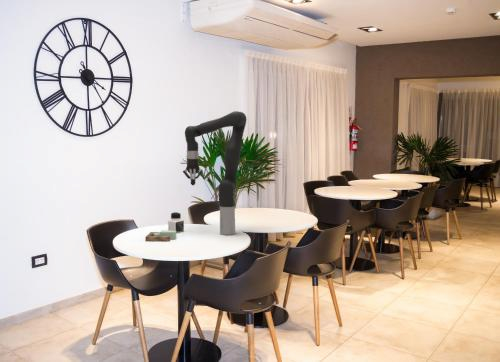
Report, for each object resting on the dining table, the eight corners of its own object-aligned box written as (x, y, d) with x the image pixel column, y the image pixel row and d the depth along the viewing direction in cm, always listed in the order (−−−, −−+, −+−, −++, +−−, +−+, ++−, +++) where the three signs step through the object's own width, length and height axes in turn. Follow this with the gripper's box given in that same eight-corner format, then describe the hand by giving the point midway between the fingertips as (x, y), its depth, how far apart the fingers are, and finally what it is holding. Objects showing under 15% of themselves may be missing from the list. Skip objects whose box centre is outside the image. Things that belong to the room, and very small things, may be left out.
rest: (173, 236, 285) (173, 232, 285) (169, 241, 272) (169, 237, 272) (150, 236, 286) (150, 232, 285) (145, 241, 273) (145, 237, 272)
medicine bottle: (175, 233, 294) (175, 214, 292) (168, 231, 298) (167, 212, 297) (184, 231, 299) (183, 212, 298) (176, 229, 304) (175, 211, 302)
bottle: (176, 230, 281) (153, 230, 281) (174, 232, 276) (151, 232, 276) (176, 238, 281) (153, 238, 281) (174, 239, 276) (152, 239, 277)
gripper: (203, 157, 301) (204, 184, 303) (183, 157, 301) (183, 184, 303) (202, 158, 293) (202, 186, 295) (181, 158, 293) (181, 185, 295)
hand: (193, 185), depth 299 cm, fingers closed
